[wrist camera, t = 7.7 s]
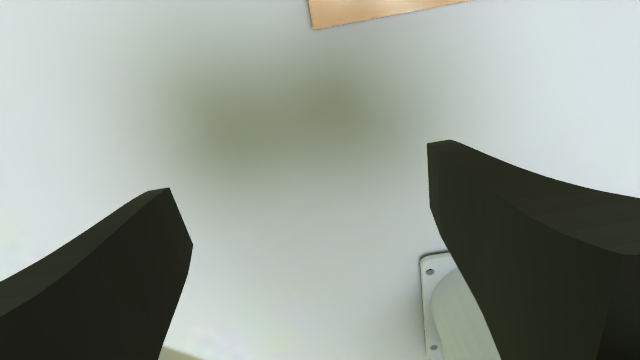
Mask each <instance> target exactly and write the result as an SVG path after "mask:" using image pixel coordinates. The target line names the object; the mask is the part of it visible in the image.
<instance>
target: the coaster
mask: <svg viewBox="0 0 640 360" xmlns="http://www.w3.org/2000/svg"><path fill="white" fill-rule="evenodd" d="M465 1H471V0H308V2H309V8H310V13H311V19H312V25H313V30H317V29H323V28H328V27H333V26H338V25H344V24H349V23H354V22H360V21H365V20H370V19H375V18H381V17H386V16H391V15H397V14H402V13H407V12H412V11H418V10H423V9H428V8H434V7H439V6H444V5H449V4H455V3H460V2H465Z"/></svg>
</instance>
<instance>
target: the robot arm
mask: <svg viewBox="0 0 640 360" xmlns="http://www.w3.org/2000/svg"><path fill="white" fill-rule="evenodd" d="M427 156H428V177H429V199H430V208H431V211H432V214H433V217H434V220H435V222H436V225H437V228H438V230H439V233H440V235H441V237H442V239H443V241H444V243H445V245H446V247H447V249H448V251H449V253H443V254H436V255H430V256H426V257H424V258H422V260H421V262H420V268H421V283H422V298H423V313H424V328H425V343H426V355H427V358H428V359H429V360H640V198H635V197H630V196H624V195H619V194H614V193H608V192H603V191H599V190H594V189H590V188H585V187H581V186H578V185H574V184H570V183H566V182H563V181H559V180H555V179H552V178H549V177H545V176H542V175H539V174H536V173H534V172H531V171H528V170H525V169H522V168H519V167H517V166H514V165H511V164H509V163H506V162H504V161H501V160H499V159H497V158H494V157H492V156H489V155H487V154H485V153H482V152H480V151H478V150H475V149H473V148H471V147H469V146H466V145H464V144H461V143H459V142H456V141H453V140H445V141H439V142H433V143H427ZM192 249H193V243H192V241H191V239H190V236H189V234H188V231H187V229H186V226H185V224H184V222H183V219H182V217H181V214H180V212H179V210H178V207H177V205H176V202H175V200H174V198H173V195H172V193H171V190H170V188H163V189H157V190H151V191H147V192H145V193H143V194H141V195H139V196H138V197H136V198H134V199H133V200H131V201H129V202H128V203H126V204H125V205H123V206H122V207H120V208H119V209H117V210H116V211H114V212H113V213H111V214H110V215H109V216H107V217H106V218H104V219H103V220H101V221H100V222H98V223H97V224H95V225H94V226H92V227H91V228H90V229H88V230H87V231H85V232H84V233H82V234H80V235H79V236H77V237H76V238H74V239H73V240H71V241H70V242H68V243H66V244H65V245H63V246H62V247H60V248H59V249H57V250H56V251H54V252H52V253H51V254H49V255H48V256H46V257H44V258H43V259H41V260H39V261H37V262H36V263H34V264H32V265H31V266H29V267H27V268H25V269H23V270H21V271H20V272H18V273H16V274H14V275H12V276H10V277H9V278H7V279H5V280H3V281H1V282H0V360H158V358H159V355H160V351H161V348H162V345H163V342H164V340H165V337H166V334H167V331H168V329H169V326H170V323H171V320H172V318H173V315H174V312H175V309H176V307H177V304H178V301H179V298H180V295H181V293H182V290H183V287H184V284H185V281H186V278H187V275H188V270H189V266H190V261H191V255H192ZM428 269H431V270H430V271H427V270H428Z"/></svg>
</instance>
